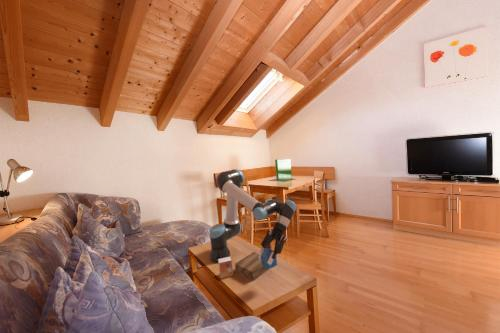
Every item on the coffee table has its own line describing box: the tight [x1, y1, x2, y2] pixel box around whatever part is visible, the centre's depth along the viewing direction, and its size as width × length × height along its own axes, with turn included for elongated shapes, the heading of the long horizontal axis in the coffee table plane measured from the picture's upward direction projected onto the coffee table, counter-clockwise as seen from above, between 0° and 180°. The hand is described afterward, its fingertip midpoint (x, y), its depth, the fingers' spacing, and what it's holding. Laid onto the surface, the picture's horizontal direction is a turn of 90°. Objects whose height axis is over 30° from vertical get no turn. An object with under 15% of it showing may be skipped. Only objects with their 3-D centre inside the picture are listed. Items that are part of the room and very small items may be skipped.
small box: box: [217, 255, 234, 279], centre depth 141 cm, size 8×6×10 cm
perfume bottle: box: [261, 243, 278, 270], centre depth 126 cm, size 6×6×12 cm
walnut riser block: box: [234, 251, 270, 281], centre depth 145 cm, size 16×18×6 cm
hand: (264, 261), depth 124 cm, fingers closed on perfume bottle, 6 cm apart
